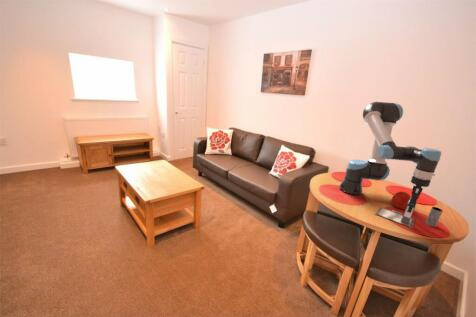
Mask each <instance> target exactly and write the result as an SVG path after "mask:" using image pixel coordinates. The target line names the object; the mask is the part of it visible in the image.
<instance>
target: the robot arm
mask: <svg viewBox="0 0 476 317" xmlns="http://www.w3.org/2000/svg"><path fill="white" fill-rule="evenodd" d="M362 111H363V112H362V118H363V120H364V122H366V123H367V126H369V128H370V131H371V133H372V135H373V137H374V141H373V146H372V150H371V156H370V158H369V159H367V161H366V160H364V159H352V160H349V161H348V164H347V166H346V169H345V174H344V178H343V180H342V181H341V182H340V184H339V187H340V189H342V190H343V191H345V192H347V193H346V194H348V193H350V194H349V195H351V194H354V195H353V196H361V195H362V194H363V184H362V183H363V180H370V181H372V180H373V181H384V180H386V179H387V178H388V177H389V176H390V170H391V169H390V166H389V165H388V162H387V161H386V160H395V161H396V160H397V161H406V162H407V161H408V162H413V163H414V164H416V165H415V169H414V170H413V171H414V172H413V175H412V177H411V179H410V183H411V184H412V185H413V187H412V192H411V193H410V194H411V195H410V197H411V198H410V202H409V204H407V209H406V212H405V214H404V213H403V214H404V216H405V217H408V218H410V217H411V215H412V216H413V214H412V212H413V210H414V211H415V209H414V207H415V208H416V206H415V204H416V205H417V203H416V202H418V199H419V198H420V196H421V193H422V192H423V188H428V187H430V184H431V180H432V179H433V177H434V176H435V175H436V174H435V171H436V169H437V166H438V163H439V162H440V160H441V156H442V151H441V150H439V149H434V148H430V147H424V148H422V149H420V148H418V147H415V146H412V145H411V146H410V145H408V146H397V144H396V142H395V140H394V139H393V137H392V130H393V126H395V125H396V124H397V122H398V121H400V120H401V118H402V117H403V115H404V109H403V106H402V105H401V104H399V103H396V102H384V101H381V102H380V101H373V102H370V103H369V104H367V105H366V106H365V108H364V109H363V110H362ZM340 189H339V190H340ZM343 191H342V192H343ZM345 192H344V193H345ZM411 204H412V205H411ZM413 213H414V212H413ZM411 218H412V217H411Z"/></svg>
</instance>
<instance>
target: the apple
mask: <svg viewBox="0 0 476 317" xmlns="http://www.w3.org/2000/svg"><path fill="white" fill-rule="evenodd" d="M410 198H411V195H410V194H409V193H408V192H405V191H398V192H395V194H393V196H391V200H390V201H391V204H392V205H393V207H395V208H397V209H400V210H405V209H406V206H407V203H408V201H409V200H410Z"/></svg>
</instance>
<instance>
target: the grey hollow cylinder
mask: <svg viewBox="0 0 476 317" xmlns="http://www.w3.org/2000/svg"><path fill="white" fill-rule="evenodd" d="M442 214H443V209H441V208H439V207H436V206H432V207H431V208H430V211H429V213H428V214H427V215H428V216H427V218H426V221H425V224H426V225H427V226H430V227H432V228H433V227H434V228H435V227H437V225H438V223H439V220H440V219H441V216H442Z"/></svg>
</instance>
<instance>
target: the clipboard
mask: <svg viewBox="0 0 476 317" xmlns="http://www.w3.org/2000/svg"><path fill="white" fill-rule="evenodd" d="M374 215H375V216H379V217H381V218H383V219H386V220H389V221H392V222H393V223H396V224H399V225H402V226H404V227H405V228H410V229H412V230H413V229H414V225H415V221H416V219H415V218H412V217H411V220H410V222H409V225H407V224H404V223H402V222H401V219H402V217H403V213H402V212H400V211H396V210H393V209H392V210H391V209H388V208H384V207H382V206H379V207H378V209H377V211H376V212H375V213H374Z"/></svg>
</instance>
